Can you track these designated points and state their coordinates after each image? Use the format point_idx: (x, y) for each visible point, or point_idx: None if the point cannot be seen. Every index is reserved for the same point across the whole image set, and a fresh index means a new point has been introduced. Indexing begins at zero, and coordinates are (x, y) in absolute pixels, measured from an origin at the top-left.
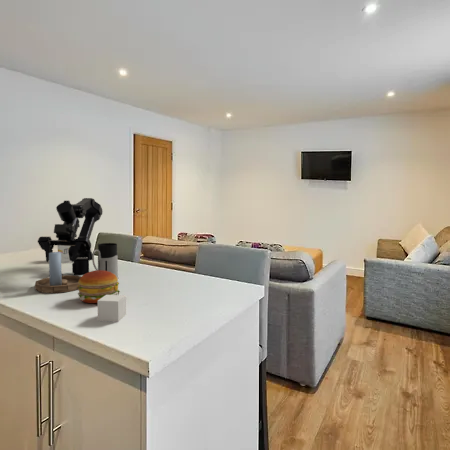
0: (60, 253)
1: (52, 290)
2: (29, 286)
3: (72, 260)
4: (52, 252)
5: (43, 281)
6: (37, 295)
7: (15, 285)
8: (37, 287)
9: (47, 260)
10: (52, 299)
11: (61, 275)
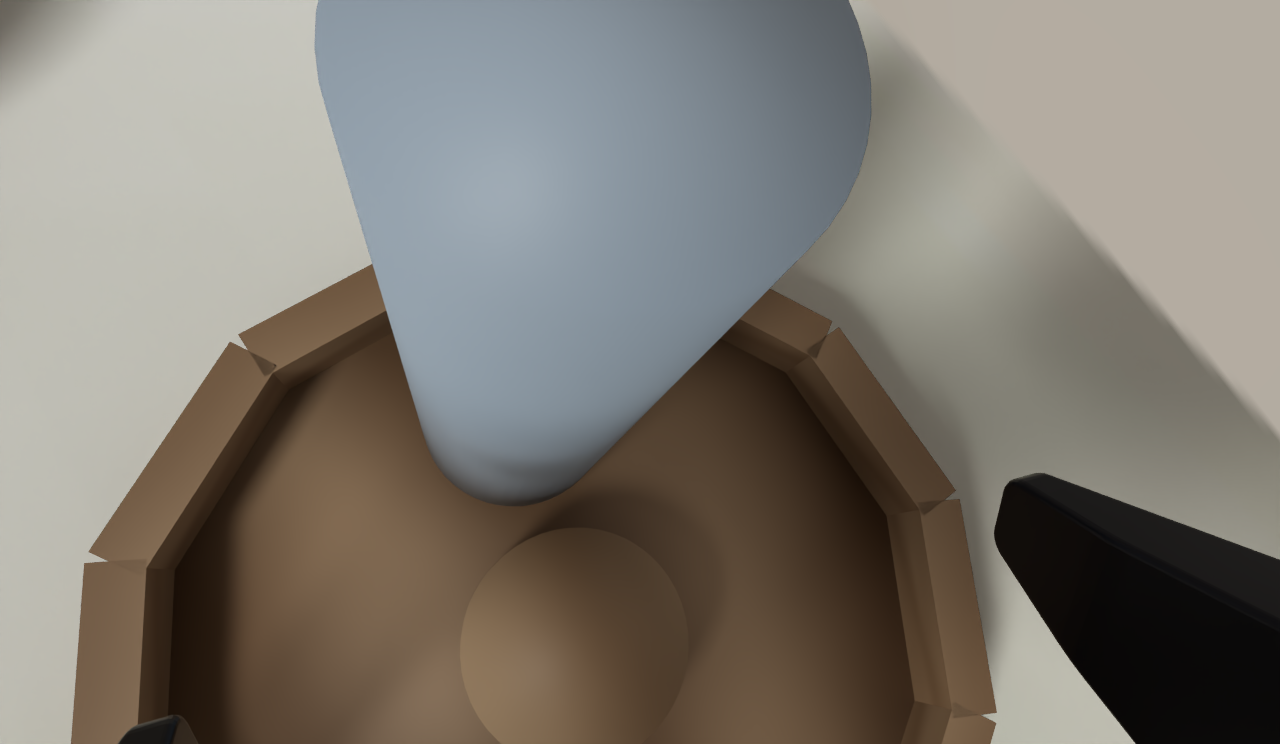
0: (322, 82)
1: None
2: None
3: (131, 731)
4: (820, 160)
5: (921, 642)
6: None
7: None
8: None
9: (1013, 504)
10: (285, 23)
11: (417, 409)
